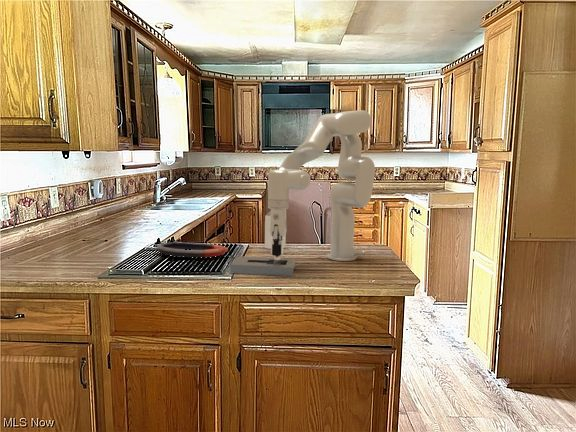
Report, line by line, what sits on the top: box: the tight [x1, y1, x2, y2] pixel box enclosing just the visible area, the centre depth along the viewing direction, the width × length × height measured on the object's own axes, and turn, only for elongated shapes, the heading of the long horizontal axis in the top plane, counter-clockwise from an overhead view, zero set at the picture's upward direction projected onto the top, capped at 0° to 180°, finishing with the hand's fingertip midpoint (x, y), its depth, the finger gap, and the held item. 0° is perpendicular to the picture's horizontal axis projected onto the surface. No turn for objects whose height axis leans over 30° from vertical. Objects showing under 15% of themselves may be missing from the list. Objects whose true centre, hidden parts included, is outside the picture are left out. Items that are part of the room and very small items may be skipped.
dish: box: [156, 240, 229, 257], centre depth 179 cm, size 16×31×5 cm, turn 76°
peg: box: [270, 239, 284, 265], centre depth 158 cm, size 5×5×11 cm
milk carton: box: [264, 210, 287, 250], centre depth 196 cm, size 7×7×19 cm
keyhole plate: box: [229, 255, 296, 277], centre depth 159 cm, size 22×13×3 cm, turn 84°
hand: (277, 253), depth 158 cm, fingers closed on peg, 4 cm apart
